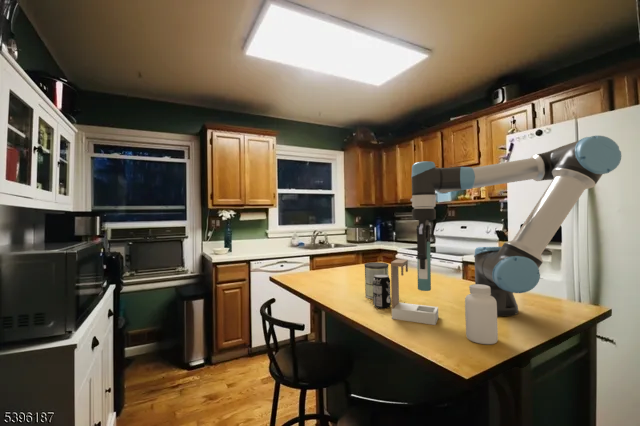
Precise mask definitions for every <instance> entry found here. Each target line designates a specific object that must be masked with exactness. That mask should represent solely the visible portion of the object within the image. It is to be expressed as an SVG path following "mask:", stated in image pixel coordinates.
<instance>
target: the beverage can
mask: <svg viewBox="0 0 640 426" xmlns="http://www.w3.org/2000/svg"><path fill="white" fill-rule="evenodd" d="M372 302H373V306H374V307H375V308H377V309H380V310H381V309H389V308H390V307H391V306H392V297H391V277H390V274H388V275H386V274H376V275H374V278H373V299H372Z"/></svg>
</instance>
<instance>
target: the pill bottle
mask: <svg viewBox="0 0 640 426" xmlns="http://www.w3.org/2000/svg"><path fill="white" fill-rule="evenodd" d="M468 288H469V293H468V294H467V295H466V296H465V298H464V311H465V312H464V313H465V314H464V315H465V335H466V338H467V340H469V341H471V342H473V343H477V344H481V345H494V344H496V343H498V340H499V339H498V338H499V337H498V335H499V333H498V332H499V331H498V316H497V302H496V299H495V298H494V297H492V296H490V295H491V293H490V292H491V288H490V286H487V285H481V284H475V283H474V284H470V285H469V287H468Z"/></svg>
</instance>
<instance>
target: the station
mask: <svg viewBox="0 0 640 426" xmlns="http://www.w3.org/2000/svg"><path fill="white" fill-rule="evenodd" d="M408 263H409V260H408V259H402V258H401V259H399V258H398V259H395V260H393V261H391V262H390V296H391V319H392V320H398V321H405V322H411V323H412V322H413V323H420V324H426V325H432V326H433V325H434V326H436V324H437V322H438V319H439V306H431V305H425V304H415V303H409V302H408V303H407V302H406V303H405V302H400V286H399V285H400V284H399V283H400V281H399V275H400V276H402V277H403V276H404V267H405V273H408V271H409V270H408V269H409V265H408ZM399 267H400V273H401V274H400V273H399Z"/></svg>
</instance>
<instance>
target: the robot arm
mask: <svg viewBox="0 0 640 426" xmlns="http://www.w3.org/2000/svg"><path fill="white" fill-rule="evenodd" d="M621 160H622V151H621V150H620V146H619V145H618V143H617V142H616V141H615V140H613V139H611V138H610V137H608V136H604V135H592V136H586V137H583V138H580V139H579V140H576V141H573V142H570V143H567V144H565V145H562V146H559V147H557V148H555V149H550V150H549V151H546V152H542V153H538V154H537V153H536V154H533V155H531V156H530V158H522V159H518V160H513V161H506V162H500V163H494V164H488V165H482V166H477V167H476V166H475V167H470V166H458V167H457V166H456V167H455V166H454V167H437V166H436V164H435V162H434V161H428V160H427V161H416V162H414V163H413V164H412V166H411V176H410V177H411V198H410V202H411V206H412V208H413V209H411V219H412V220H413V221H418V224H417V225H416V244H417V245H416V246H417V247H416V248H417V249H416V253H417V254H416V255H417V256H416V257H415V259H416V260H417V259H419V279H428V266H427V242H430V243H431V230H432V229H431V227H432V226H431V225H430V222H429V221H434V220H436V216H437V215H436V212H437V211H436V209H435V207H436V203H437V201H436V200H437V199H436V196H437V195H436V192H437V193H439V194H447V193H451V192H458V191H464V190H471V189H477V188H484V187H490V186H497V185H503V184H509V183H515V182H516V183H517V182H522V181H531V180H533V181H535V182H542V181H551V182H550V183H549V185H547V187H546V189H545V190H544V192H543V194H541V197H540V198H539V200H538V201H537V203H536V204H535V206H534V207H533V209H532V210H531V212H530V213H529V215H528V217H527V218H526V219H525V221H524V223H523V224H522V226H521V227H520V229H519V230H518V231H517V233H516V234H515V236H514V237H513V239H512V240H510V241H505V242H504V243H503V244H502V246H477V247H476V248H475V250H474V254H473V258H474V284H481V285H487V286H490V288H491V292H490V293H491V295H490V296H492V297H494V298H495V299H496V302H497V317H499V316H500V317H511V316H516V315H518V313H519V306H518V303H517V300H516V298H515V295H514V294H523V293H527V292H531V290H533V289H534V288H535V287H536V286H537V285H538V283H539V282H540V278H541V274H540V267H541V266H542V264H543V263H544V260H543V258H542V253H543V252H544V251H545V249H546V248H547V246H548V245H549V243H550V242H551V240H553V237H554V236H555V235H556V233H557V231H558V230H559V229H560V228H561V225H562V224H563V223H564V221H565V219H566V218H567V217H568V216H569V214H570V213H571V211H572V209H573V208H574V206H575V205H576V204H577V202H578V201H579V199H580V198H581V196H582V195H583V193H584V192H585V190H589V189H592V188H594V187H595V186H596V185H597V184H598V182H599V181H600V179H601V177H602V176H603V175H605V174H609V173H611V172H613V171H614V170H616V169H617V168H618V167H619V165H620V163H621ZM430 256H431V258H432V257H433V254H431V251H430Z"/></svg>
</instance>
